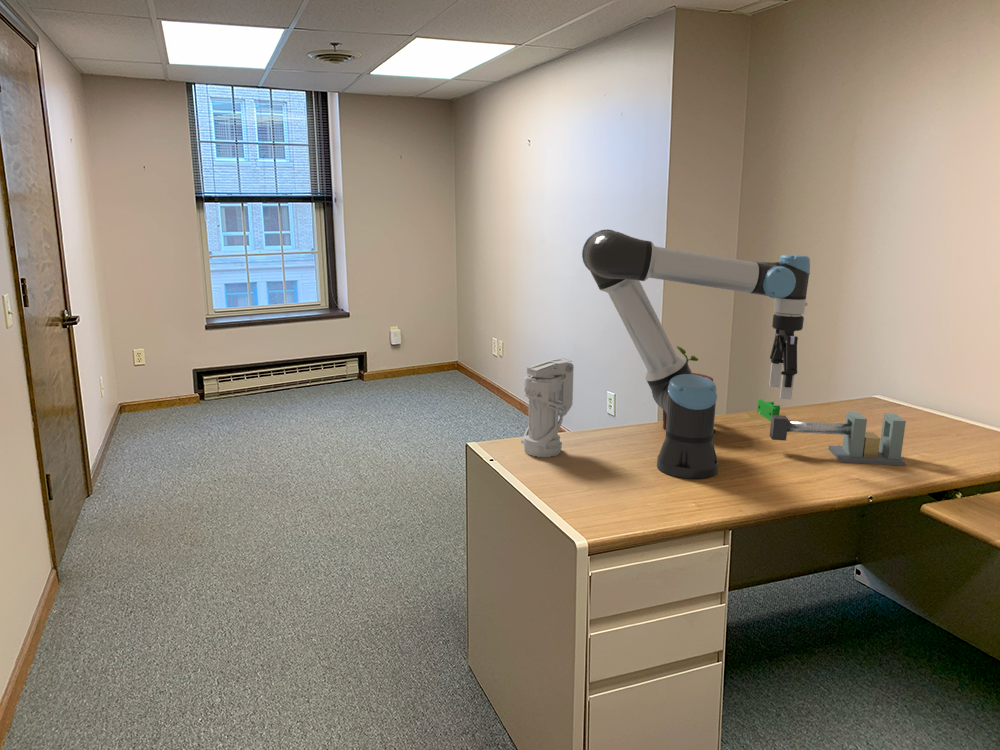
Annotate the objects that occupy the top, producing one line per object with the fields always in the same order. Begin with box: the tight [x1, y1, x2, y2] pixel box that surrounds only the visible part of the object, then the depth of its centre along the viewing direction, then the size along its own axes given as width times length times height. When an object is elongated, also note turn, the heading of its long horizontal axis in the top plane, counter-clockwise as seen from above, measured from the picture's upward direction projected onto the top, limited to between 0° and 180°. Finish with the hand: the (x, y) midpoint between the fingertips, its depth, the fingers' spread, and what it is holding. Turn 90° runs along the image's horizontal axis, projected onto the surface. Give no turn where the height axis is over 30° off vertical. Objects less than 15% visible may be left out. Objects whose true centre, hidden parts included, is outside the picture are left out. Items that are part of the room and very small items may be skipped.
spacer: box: [863, 431, 881, 457], centre depth 195 cm, size 4×6×5 cm, turn 171°
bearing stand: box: [828, 411, 907, 466], centre depth 194 cm, size 16×11×12 cm
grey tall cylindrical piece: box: [520, 357, 574, 458], centre depth 195 cm, size 13×10×25 cm
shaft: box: [769, 414, 852, 441], centre depth 196 cm, size 22×4×6 cm, turn 81°
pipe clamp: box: [756, 399, 781, 422], centre depth 233 cm, size 11×4×5 cm, turn 4°
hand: (779, 392), depth 195 cm, fingers open, 13 cm apart
